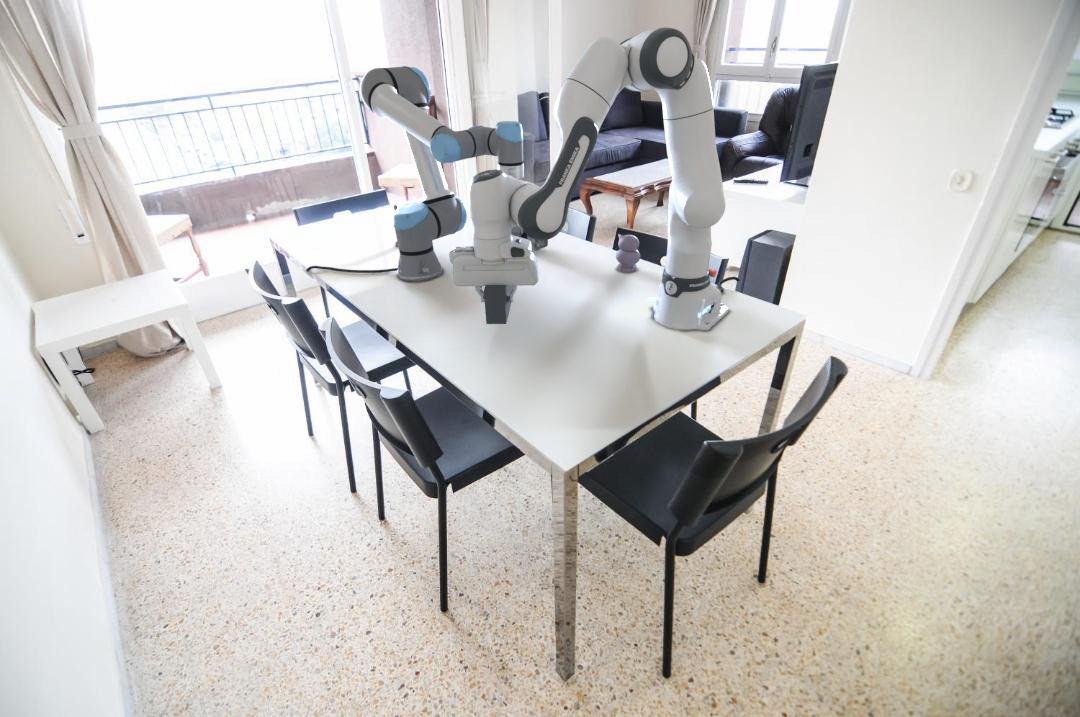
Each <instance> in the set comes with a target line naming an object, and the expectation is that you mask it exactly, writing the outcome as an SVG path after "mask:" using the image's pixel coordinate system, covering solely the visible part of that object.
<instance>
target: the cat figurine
mask: <svg viewBox="0 0 1080 717" xmlns="http://www.w3.org/2000/svg"><path fill="white" fill-rule="evenodd" d="M617 235H618V239H619V240H618V248H619V249H618V250H617V251H616V253H615V258H616V261H617V262H618V264H617V271H619V272H621V273H633V272H635V271H636V270H637V264H638V262H639V261H640V260H641V253H640V252H639V250H638V249H639V247H640V241H639V239H638V237H637V236H635V235H633V234H624V235H623V234H621V233H618V234H617Z"/></svg>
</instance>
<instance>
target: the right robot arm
mask: <svg viewBox="0 0 1080 717" xmlns="http://www.w3.org/2000/svg"><path fill="white" fill-rule="evenodd" d="M622 90H623V91H626V92H632V93H635V92H640V93H646V92H652V91H654V90H655V91H656V93H657V94H658V96H659V98H660V102H661V108H662V120H663V128H664V129H663V130H664V136H665V146H666V155H667V158H668V165H669V171H670V175H671V182H670V185H669V189H668V208H667V246H666V257H665V266H664V268H663V270H662V271H663V272H662V274H661V283H660V284H659V287H658V292H657V297H656V296H655V297H646V301H656V303H655V304H653V305H652V310H653V312H654V313H653V314H654V315H653V318H654V320H655V321H656V322H657V323H659V324H660V325H662V326H664V327H666V328H669V329H674V330H684V331H685V330H688V331H689V330H699V331H709V330H711V328H712V327H714V326H715V325H716V324H717V323H718V322H719V321H720V320H721V319H722V318H724V317H725V316H726V315H727V314H728V313H729V310H730V308H729V306H727V305H725V303H722V299H723V293H724V291H725V289H724V287H723V285H722V284H724V283H726V282H728V281H736V282H740V278H739V277H737V276H728V277H726V278H723V279H722V280H720V281H719V282H718V283H717V287H716V286H715V285H714V284H712V283H711V278H716V276H717V273H718V271H717V269H713V268H709V267H710V266H709V265H710V258H711V254H712V253H711V252H712V245H713V241H712V227H714V226H715V225H716V224H717V223H719V221H720V220H721V219H722V218H723V216H724V214H725V211H726V198H725V193H724V192H725V191H724V184H723V178H722V172H721V171H722V170H721V165H720V160H719V154H718V148H717V141H716V126H715V124H716V123H715V111H714V99H713V98H714V97H713V91H712V90H713V89H712V85H711V80H710V76H709V72H708V68H707V64H706V63H705V62H704V61H703V60H702V59H701V58H699V57H695V55H694V53H693V51H692V47H691V44H690V42H689V40H688V38H687V37H686V35H685V34H684V33H683V32H682V31H680V30H679V29H677V28H673V27H668V26H667V27H666V26H665V27H659V28H657V29H649V30H645V31H643V32H641V33H639V34H637V35H635V36H632V37H629V38H627V39H625V40H623V41H621V43H620V42H619V41H616V40H615V39H613V38H610V37H605V36H602V37H598V38H595V39H594V40H592V41H591V42H590V43H589V45H588V46H587V47H586V48H585V50H584V51H583V52H582V54H581V55H580V56H579V57H578V59H577V61H576V62H575V64H574V65H573V67H572V68H571V70H570V72H569V74H568V75H567V77H566V78H565V80H564V83H563V84H562V87H561V88H560V90H559V92H558V95H557V97H556V100H555V104H554V107H553V117H554V121H555V124H556V126H557V128H558V130H559V133H560V136H561V137H560V138H561V143H560V148H559V151H558V154H557V156H556V158H555V160H554V162H553V164H552V167H551V168H550V170H549V173H548V175H547V177H546V179H545V181H544V182H543V184H542V185H541V186H539V185H537V184H535V183H533V182H531V181H526V180H524V181H522V180H518V179H515V178H513V177H511V176H509V175H507V174H505V173H504V172H503V171H501V170H498V169H487V170H483V171H481V172H478V173H477V174H475V175H474V176H472V178H471V180H469V185H468V207H469V208H468V209H469V216H470V219H471V222H472V231H471V236H472V245H471V246H455V247H454V248H452V249H451V250H450V251H449V253H448V256H449V261H450V262H449V263H450V264H451V266H452V269H451V270H452V272H451V273H452V274H451V276H452V283H453V284H454V285H455V286H456V287H474V289H475V291H476V293H477V294H478V295H479V296H480V300H481V303H485V301H484V289H482V288H483V287H485V285H506V286H511V290H512V291H511V293H507V302H511V303H513V302H514V295H515V293H516V292H517V290H518V286H521V287H522V286H536V285H537V284H538V282H539V267H538V262H537V258H536V255H535V253H534V251H531V250H532V245H531V241H530V240H528V239H524V238H521V237H517V236H514V235H511V229H512V228H513V227H517V226H519V227H520V228H522V230H523V231H524V232H525V233H526V234H527V235H528V236H529V237H530V238H532V239H534V240H538V241H544V240H548V241H549V240H550V239H553V238H554V237H556V236H557V235H558V234H560V232H562V230H563V228H565V227H564V226H565V225H566V222H567V219H568V214H569V208H570V205H571V204H570V203H571V200H572V198H573V195H574V193H575V191H576V189H577V187H578V185H579V183H580V180H581V179H582V176H583V174H584V171H585V170H586V167H587V165H588V163H589V160H590V158H591V156H592V154H593V151H594V149H595V146H596V144H597V141H598V135H599V132H600V130H601V127H602V125H603V123H604V120H605V119H606V117H607V115H608V113H609V111H610V109H611V108H612V106H613V104H614V102H615V101H616V98H617V96H618V95H619V94H620V93H621V91H622ZM710 277H711V278H710Z"/></svg>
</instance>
